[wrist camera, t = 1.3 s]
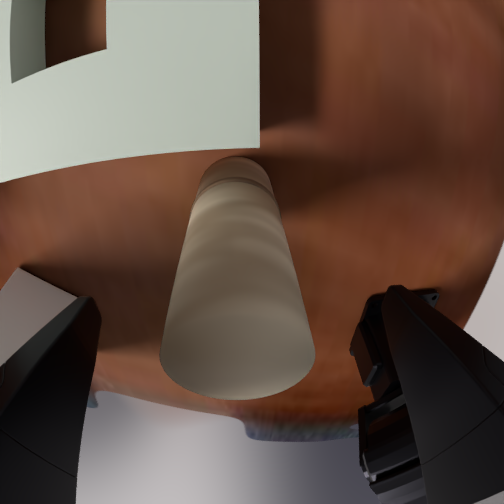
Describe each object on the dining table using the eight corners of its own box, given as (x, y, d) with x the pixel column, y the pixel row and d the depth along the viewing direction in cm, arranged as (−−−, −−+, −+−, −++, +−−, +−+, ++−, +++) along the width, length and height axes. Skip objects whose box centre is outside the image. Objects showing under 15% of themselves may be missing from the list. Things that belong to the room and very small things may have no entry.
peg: (272, 154, 14) (330, 306, 6) (271, 221, 16) (306, 395, 8) (195, 157, 14) (137, 312, 5) (201, 224, 16) (175, 400, 7)
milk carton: (21, 319, 20) (-42, 504, 4) (18, 264, 16) (-83, 495, 1) (88, 352, 22) (46, 551, 7) (98, 303, 19) (34, 568, 3)
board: (252, -107, 5) (255, -135, 3) (254, 132, 13) (259, 147, 11) (-14, -22, 4) (-43, -24, 2) (-4, 171, 12) (-33, 192, 10)
